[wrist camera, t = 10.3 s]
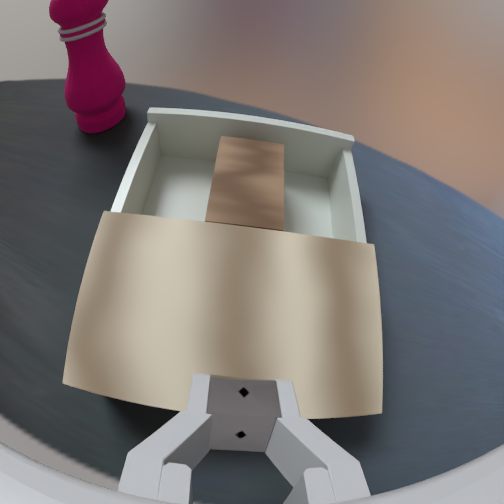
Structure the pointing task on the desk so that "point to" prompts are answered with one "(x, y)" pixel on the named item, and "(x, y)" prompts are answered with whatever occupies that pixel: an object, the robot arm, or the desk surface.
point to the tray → (203, 163)
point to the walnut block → (248, 184)
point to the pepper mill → (89, 65)
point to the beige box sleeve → (226, 314)
